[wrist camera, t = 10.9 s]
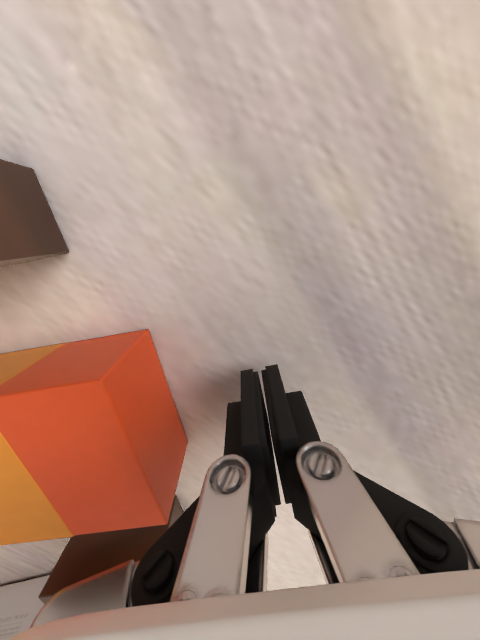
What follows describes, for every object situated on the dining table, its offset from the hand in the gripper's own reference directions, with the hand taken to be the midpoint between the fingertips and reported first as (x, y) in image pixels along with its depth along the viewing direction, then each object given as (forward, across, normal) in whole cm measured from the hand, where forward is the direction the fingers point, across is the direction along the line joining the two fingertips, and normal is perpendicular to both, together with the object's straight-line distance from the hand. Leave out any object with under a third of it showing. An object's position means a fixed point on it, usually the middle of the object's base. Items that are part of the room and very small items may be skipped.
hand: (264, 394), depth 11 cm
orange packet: (+1, +11, 0) cm, 11 cm away
